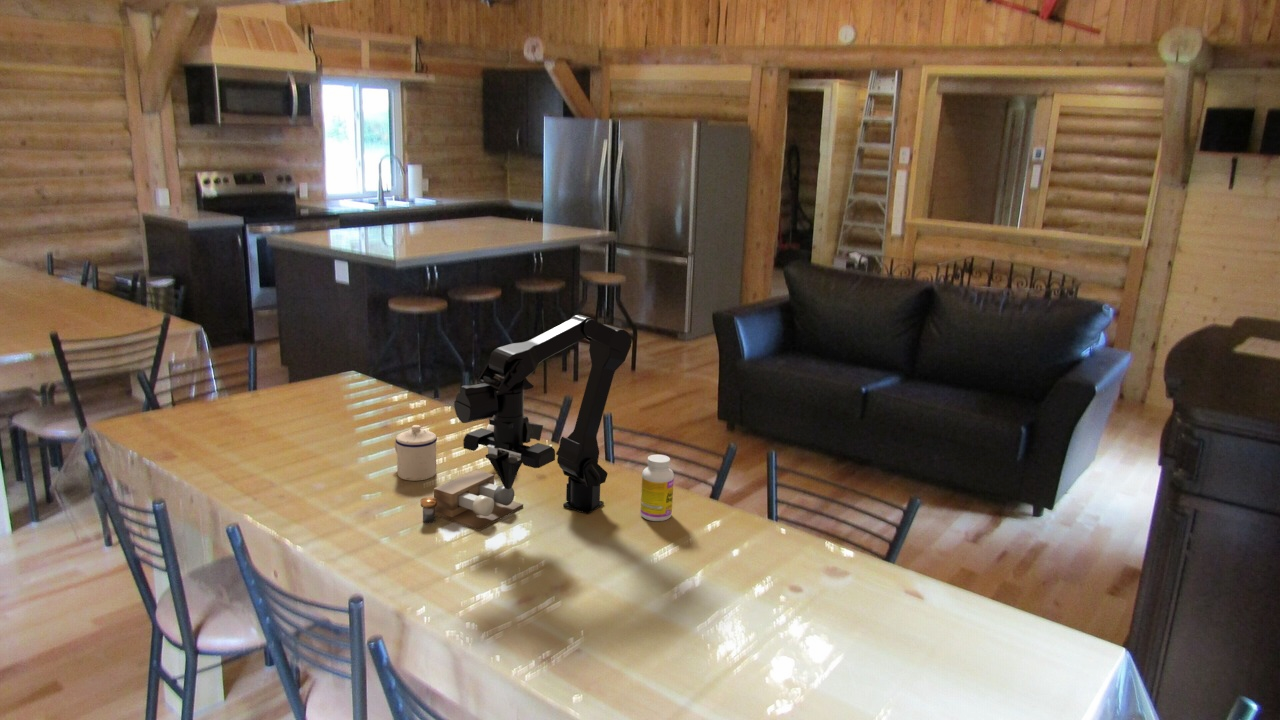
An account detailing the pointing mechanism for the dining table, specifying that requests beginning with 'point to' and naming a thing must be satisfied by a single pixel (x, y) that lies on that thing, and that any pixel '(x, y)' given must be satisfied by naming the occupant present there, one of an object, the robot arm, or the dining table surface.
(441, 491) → the walnut mount
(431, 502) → the copper domed knob
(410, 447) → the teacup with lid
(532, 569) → the dining table surface
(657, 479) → the supplement bottle
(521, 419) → the robot arm
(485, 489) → the graphite knob
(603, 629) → the dining table surface
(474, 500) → the cream knob
